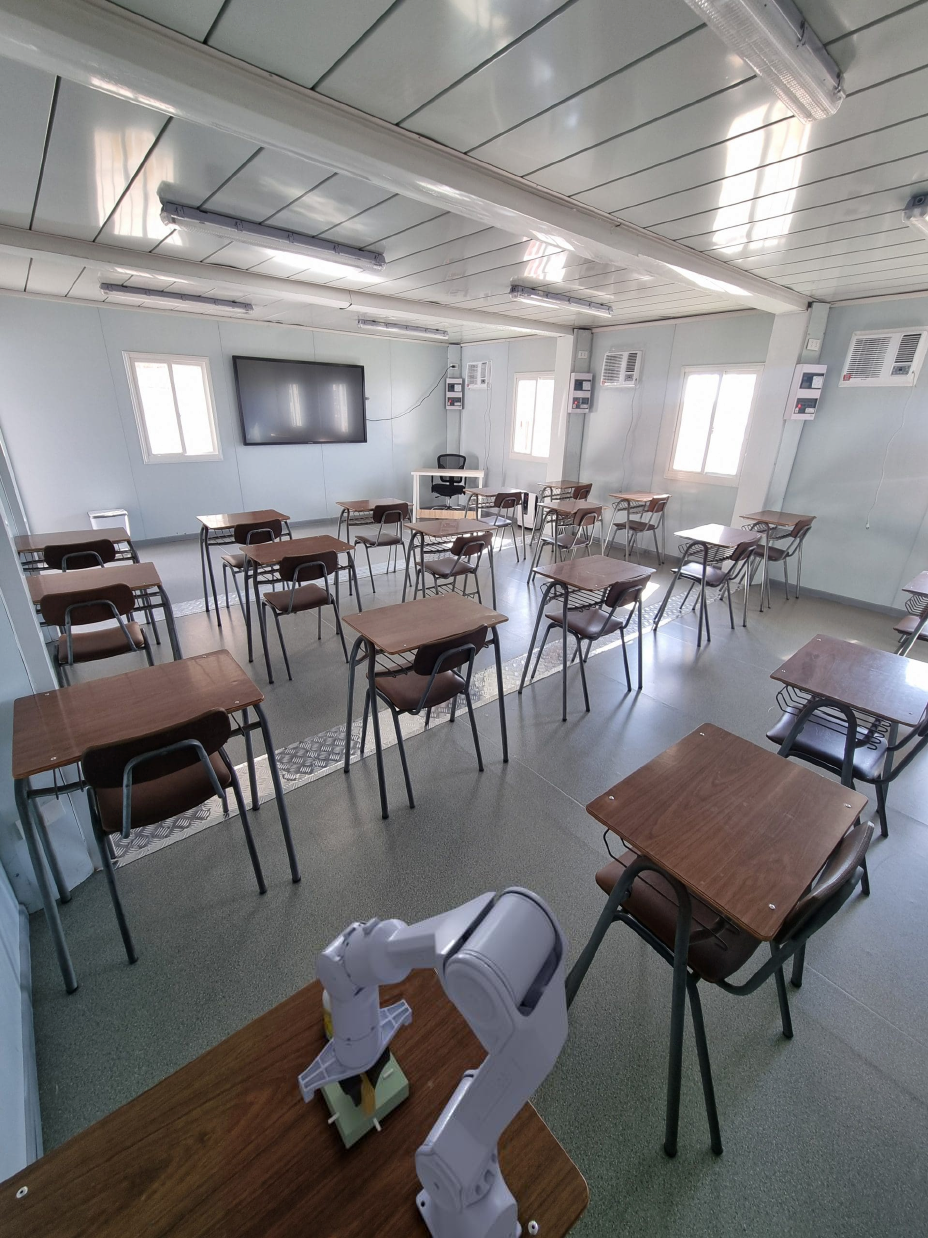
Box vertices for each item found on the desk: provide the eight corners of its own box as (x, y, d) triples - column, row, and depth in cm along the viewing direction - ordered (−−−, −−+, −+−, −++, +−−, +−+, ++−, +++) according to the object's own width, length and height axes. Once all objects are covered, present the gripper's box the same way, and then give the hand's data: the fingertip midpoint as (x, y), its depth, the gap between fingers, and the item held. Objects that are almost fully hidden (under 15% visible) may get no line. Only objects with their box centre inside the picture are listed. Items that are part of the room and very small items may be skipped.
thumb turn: (376, 1110, 63) (374, 1089, 62) (366, 1118, 63) (365, 1097, 62) (357, 1074, 67) (356, 1054, 66) (348, 1081, 66) (347, 1061, 65)
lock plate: (417, 1110, 66) (417, 1096, 65) (346, 1175, 60) (345, 1160, 59) (372, 1032, 75) (371, 1019, 74) (306, 1081, 69) (305, 1068, 68)
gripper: (391, 957, 68) (394, 1029, 72) (285, 1028, 60) (295, 1105, 64) (419, 998, 63) (421, 1074, 67) (308, 1082, 54) (317, 1163, 58)
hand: (362, 1092), depth 65 cm, fingers closed on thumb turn
